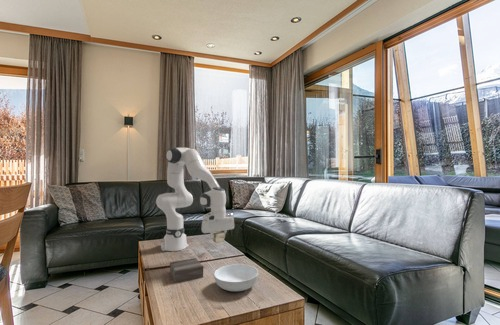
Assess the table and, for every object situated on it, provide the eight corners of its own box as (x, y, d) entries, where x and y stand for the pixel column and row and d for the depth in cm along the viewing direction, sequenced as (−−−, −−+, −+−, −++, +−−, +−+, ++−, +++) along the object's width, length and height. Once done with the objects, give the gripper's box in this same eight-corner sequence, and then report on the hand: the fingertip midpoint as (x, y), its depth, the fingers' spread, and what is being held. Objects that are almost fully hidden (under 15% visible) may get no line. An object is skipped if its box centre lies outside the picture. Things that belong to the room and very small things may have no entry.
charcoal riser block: (170, 273, 143) (170, 262, 143) (195, 268, 149) (195, 258, 149) (175, 283, 130) (175, 271, 131) (203, 277, 137) (203, 266, 137)
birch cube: (212, 240, 158) (212, 232, 158) (220, 239, 161) (220, 231, 161) (216, 243, 154) (216, 234, 154) (224, 241, 157) (224, 233, 157)
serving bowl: (207, 283, 130) (207, 269, 130) (245, 274, 140) (245, 261, 140) (225, 302, 112) (225, 285, 112) (267, 290, 122) (267, 274, 122)
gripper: (231, 212, 166) (231, 234, 166) (200, 216, 155) (200, 239, 155) (236, 214, 161) (236, 237, 161) (204, 217, 149) (204, 242, 149)
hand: (218, 238), depth 158 cm, fingers closed on birch cube, 5 cm apart
